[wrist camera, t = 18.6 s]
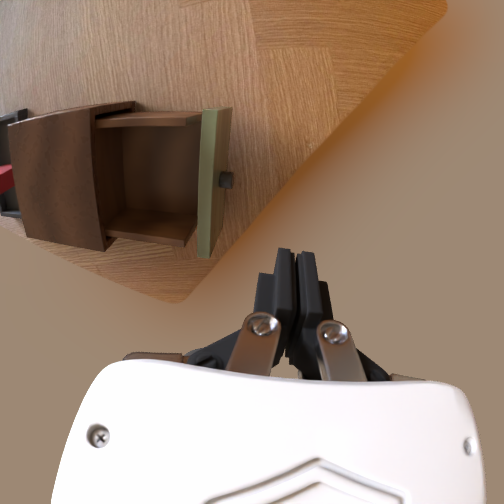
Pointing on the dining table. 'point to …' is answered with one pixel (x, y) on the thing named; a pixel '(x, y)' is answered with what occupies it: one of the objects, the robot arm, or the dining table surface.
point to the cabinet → (61, 175)
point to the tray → (8, 199)
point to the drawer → (164, 175)
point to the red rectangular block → (6, 178)
